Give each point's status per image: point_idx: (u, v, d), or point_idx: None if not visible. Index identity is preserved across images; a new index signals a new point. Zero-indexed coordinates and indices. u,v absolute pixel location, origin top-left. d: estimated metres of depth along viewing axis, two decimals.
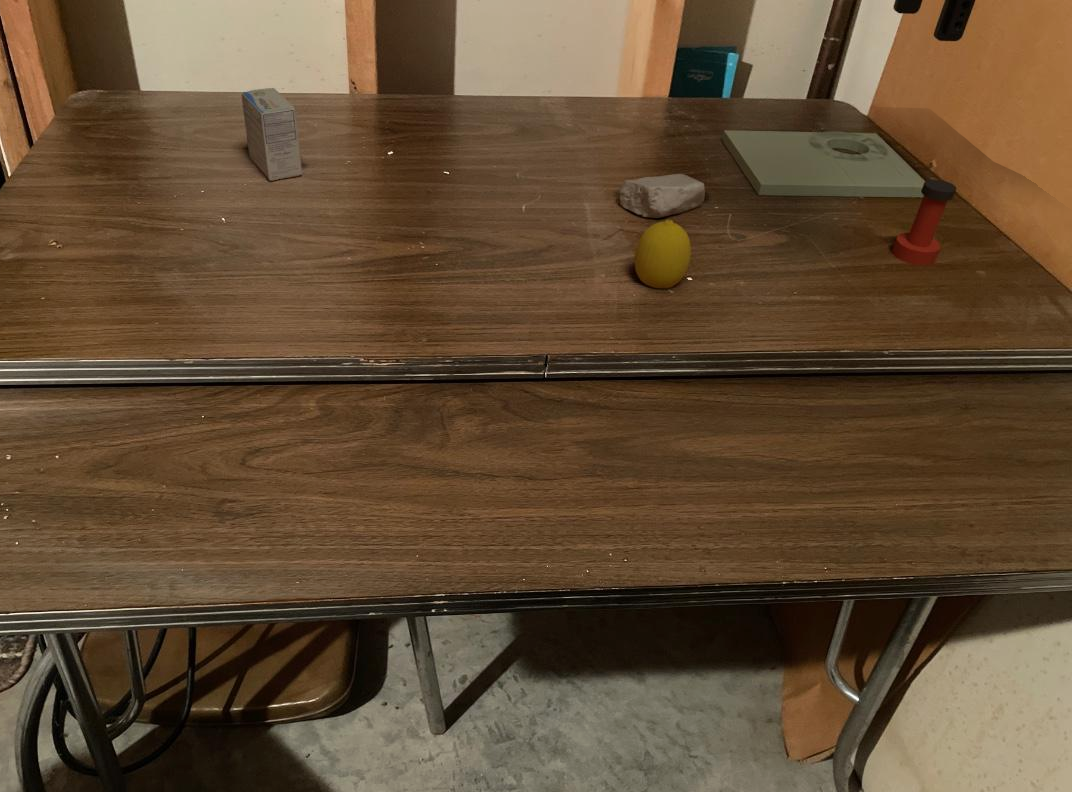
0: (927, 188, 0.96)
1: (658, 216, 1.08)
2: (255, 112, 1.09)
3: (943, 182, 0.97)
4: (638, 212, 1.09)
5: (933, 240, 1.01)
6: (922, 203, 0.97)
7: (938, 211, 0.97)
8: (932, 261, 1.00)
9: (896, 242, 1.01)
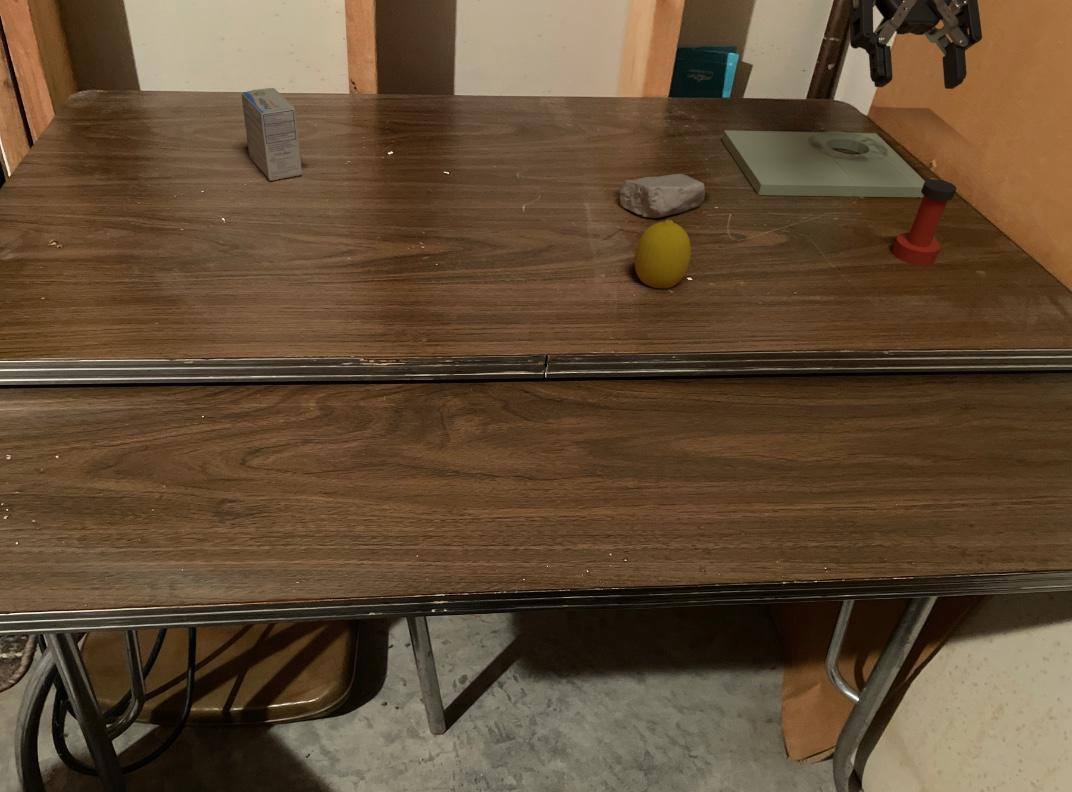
0: (927, 188, 0.96)
1: (658, 216, 1.08)
2: (255, 112, 1.09)
3: (943, 182, 0.97)
4: (638, 212, 1.09)
5: (933, 240, 1.01)
6: (922, 203, 0.97)
7: (938, 211, 0.97)
8: (932, 261, 1.00)
9: (896, 242, 1.01)
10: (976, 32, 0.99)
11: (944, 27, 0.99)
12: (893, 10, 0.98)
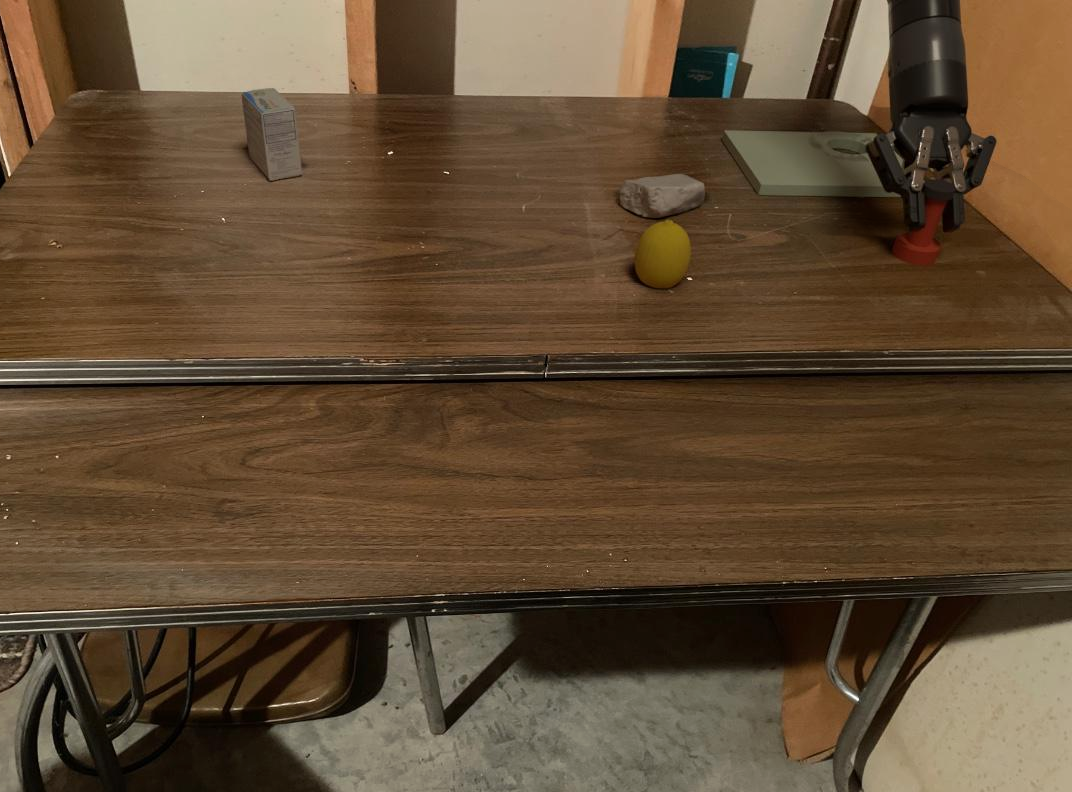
0: (927, 188, 0.96)
1: (658, 216, 1.08)
2: (255, 112, 1.09)
3: (943, 182, 0.97)
4: (638, 212, 1.09)
5: (933, 240, 1.01)
6: None
7: (938, 211, 0.97)
8: (932, 261, 1.00)
9: (896, 242, 1.01)
10: (977, 176, 0.97)
11: (948, 166, 0.97)
12: (907, 146, 0.97)
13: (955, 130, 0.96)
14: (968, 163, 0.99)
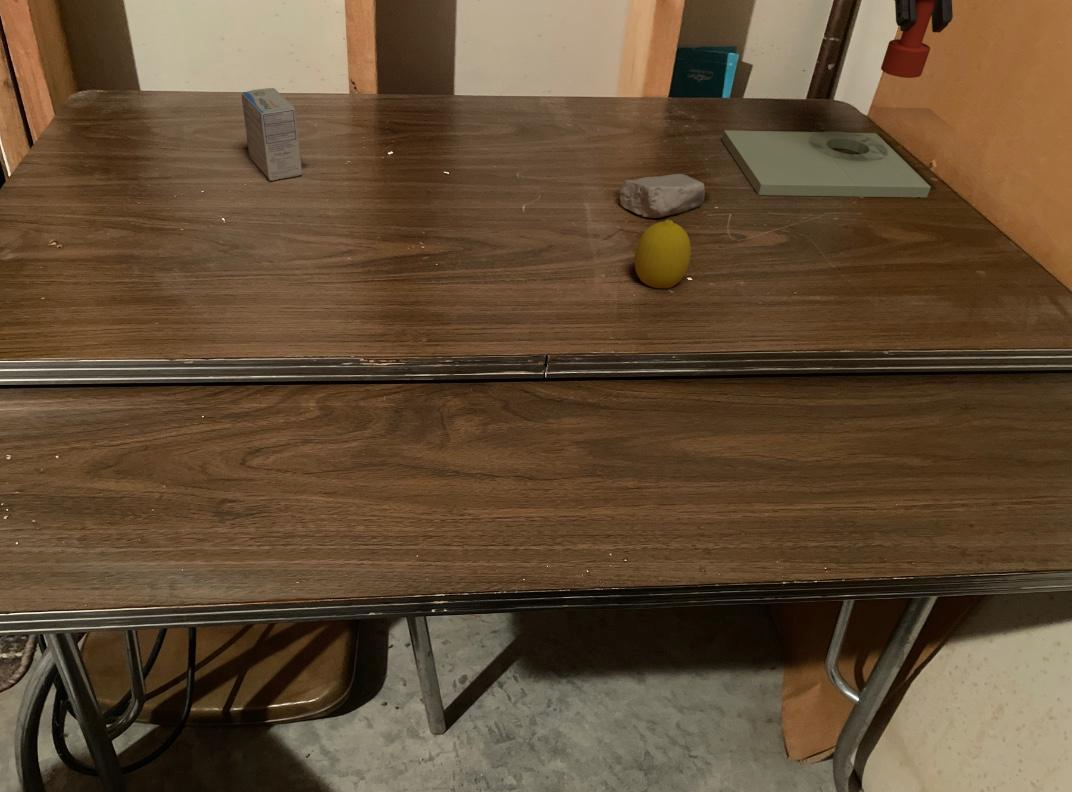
0: None
1: (658, 216, 1.08)
2: (255, 112, 1.09)
3: None
4: (638, 212, 1.09)
5: (923, 44, 1.07)
6: None
7: (928, 10, 1.03)
8: (922, 62, 1.06)
9: (888, 46, 1.07)
10: None
11: None
12: None
13: None
14: None
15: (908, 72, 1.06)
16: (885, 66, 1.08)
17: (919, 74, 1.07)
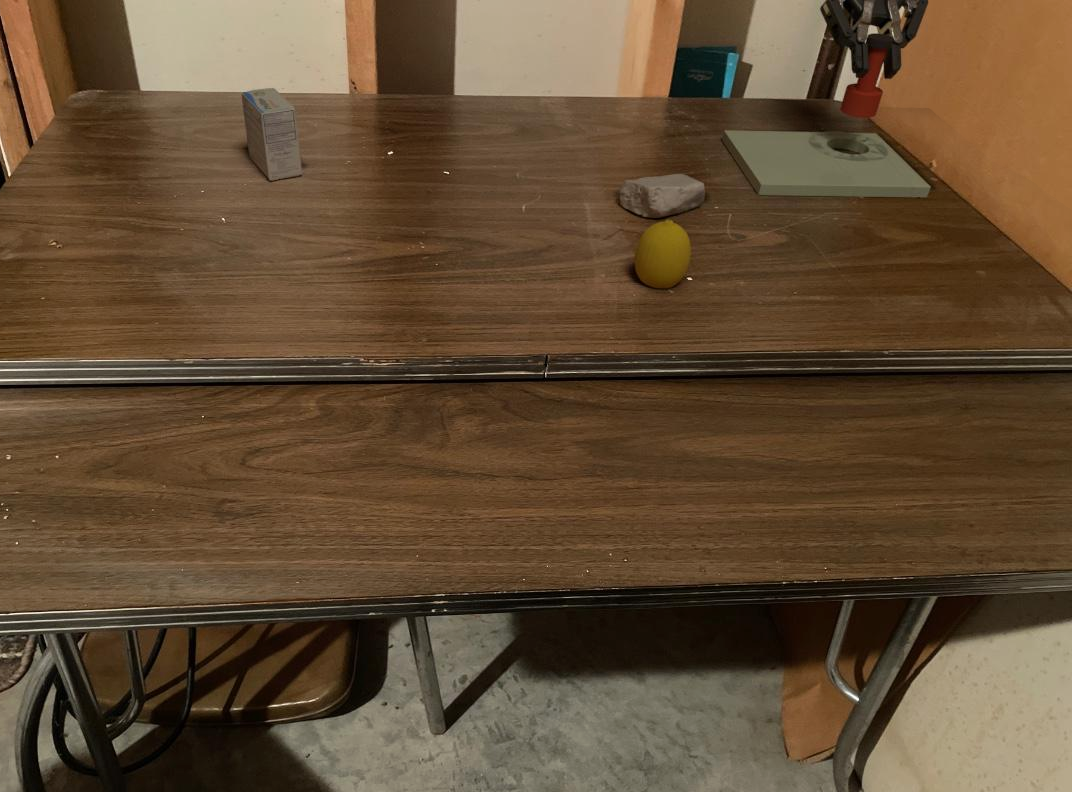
0: (870, 39, 1.16)
1: (658, 216, 1.08)
2: (255, 112, 1.09)
3: (883, 35, 1.17)
4: (638, 212, 1.09)
5: (877, 88, 1.21)
6: None
7: (879, 59, 1.17)
8: (875, 104, 1.20)
9: (846, 90, 1.21)
10: (912, 31, 1.17)
11: (888, 22, 1.17)
12: (854, 5, 1.17)
13: None
14: (905, 22, 1.19)
15: (863, 113, 1.20)
16: (843, 107, 1.22)
17: (873, 114, 1.21)
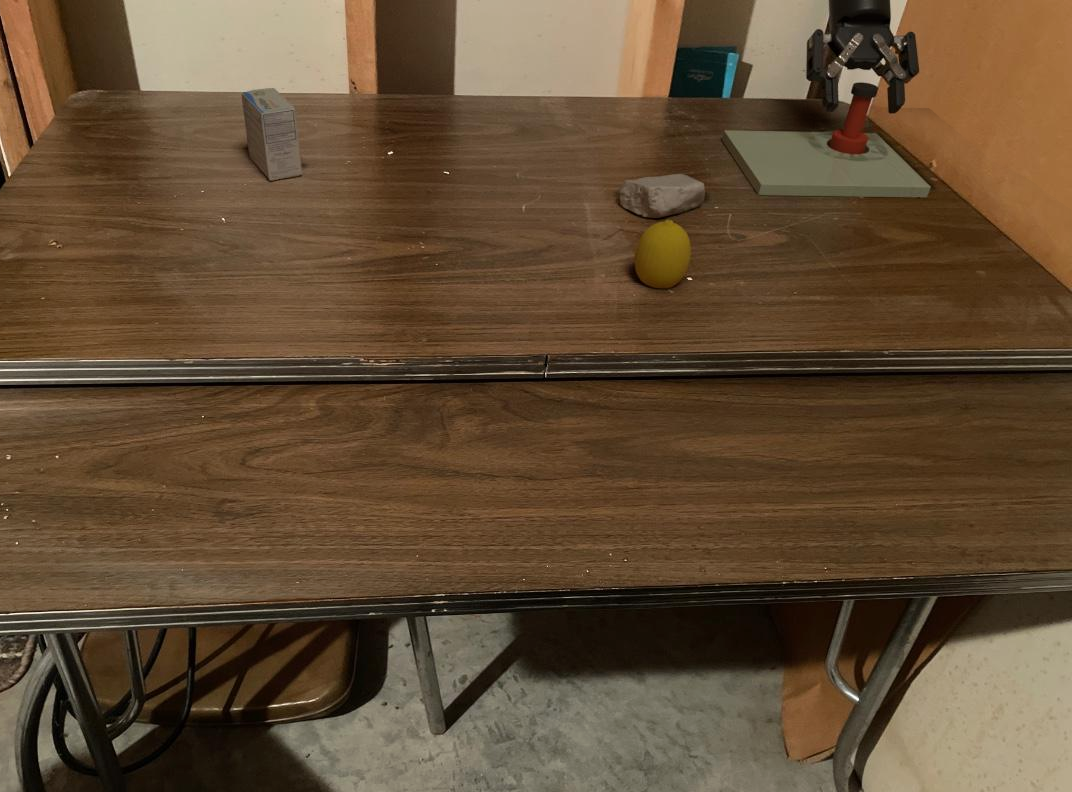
0: (855, 88, 1.20)
1: (658, 216, 1.08)
2: (255, 112, 1.09)
3: (868, 84, 1.21)
4: (638, 212, 1.09)
5: (862, 134, 1.25)
6: (852, 101, 1.21)
7: (864, 107, 1.21)
8: (861, 150, 1.24)
9: (832, 135, 1.25)
10: (914, 67, 1.20)
11: (886, 63, 1.20)
12: (841, 50, 1.20)
13: (879, 35, 1.20)
14: (900, 58, 1.23)
15: None
16: None
17: None
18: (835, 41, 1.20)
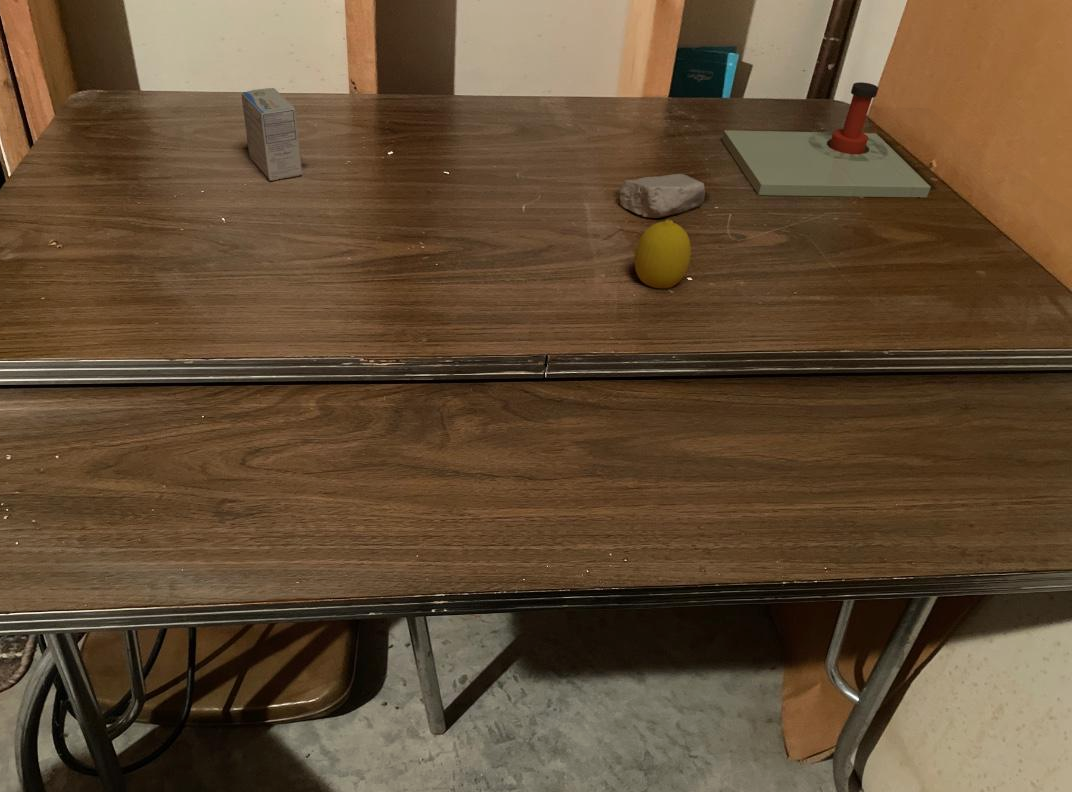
0: (855, 88, 1.20)
1: (658, 216, 1.08)
2: (255, 112, 1.09)
3: (868, 84, 1.21)
4: (638, 212, 1.09)
5: (862, 134, 1.25)
6: (852, 101, 1.21)
7: (864, 107, 1.21)
8: (861, 150, 1.24)
9: (832, 135, 1.25)
10: None
11: None
12: None
13: None
14: None
15: None
16: None
17: None
18: None
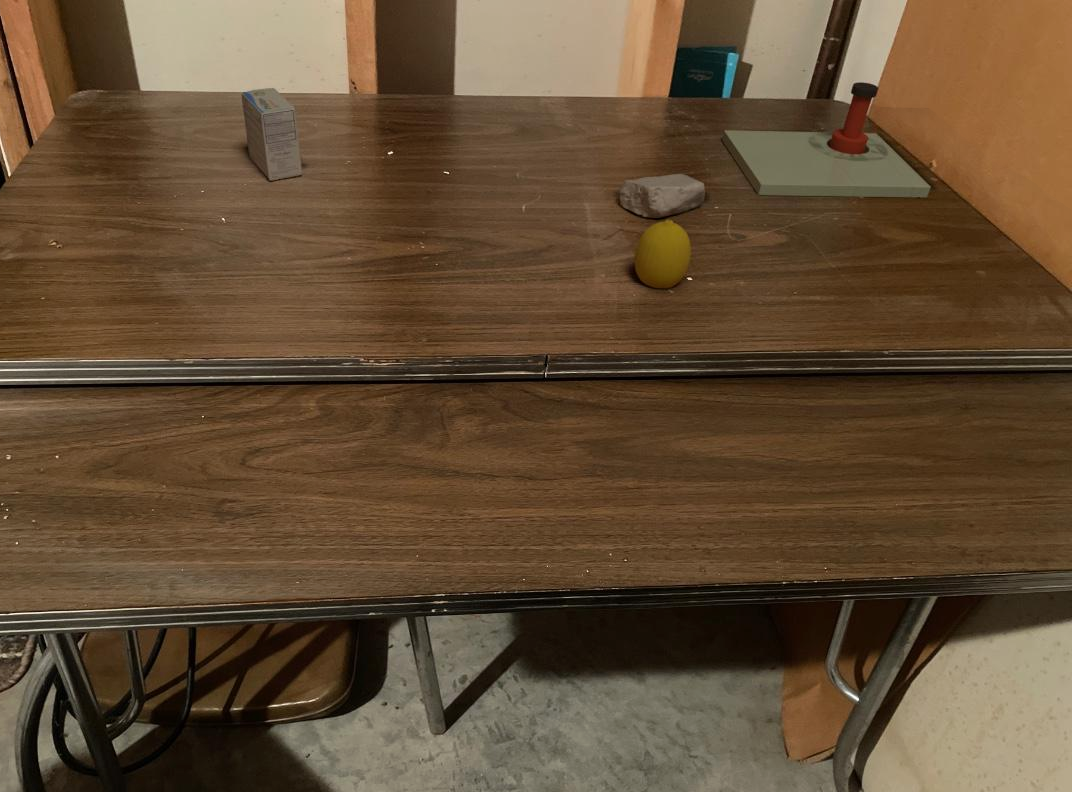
0: (855, 88, 1.20)
1: (658, 216, 1.08)
2: (255, 112, 1.09)
3: (868, 84, 1.21)
4: (638, 212, 1.09)
5: (862, 134, 1.25)
6: (852, 101, 1.21)
7: (864, 107, 1.21)
8: (861, 150, 1.24)
9: (832, 135, 1.25)
10: None
11: None
12: None
13: None
14: None
15: None
16: None
17: None
18: None
